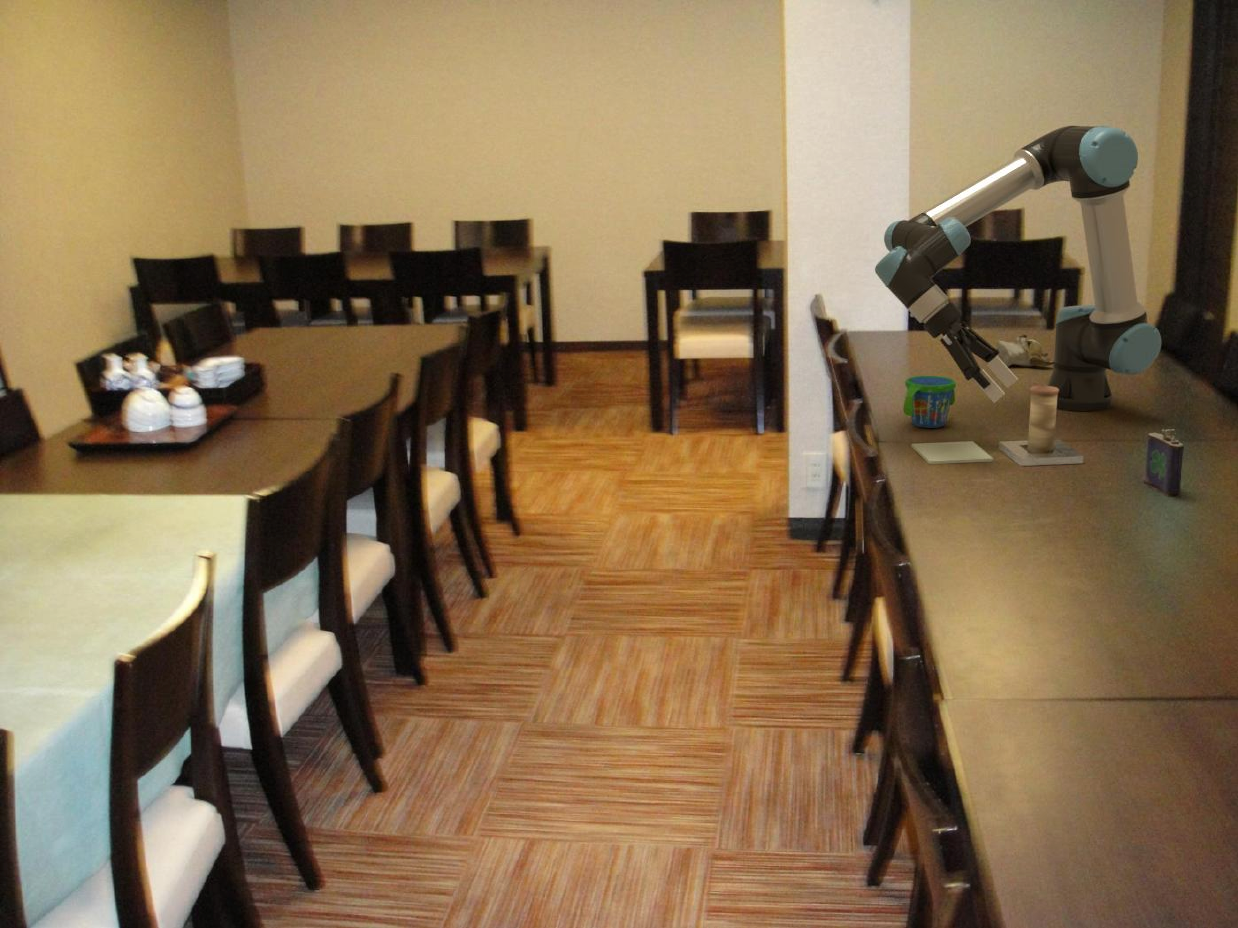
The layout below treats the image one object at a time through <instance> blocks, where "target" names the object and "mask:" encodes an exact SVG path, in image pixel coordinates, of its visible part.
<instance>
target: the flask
mask: <svg viewBox="0 0 1238 928" xmlns="http://www.w3.org/2000/svg"><path fill="white" fill-rule="evenodd" d="M1173 432H1175V429H1174V428H1172V429H1171V428H1170V429H1167V428H1166V429H1161V433H1158V432H1151V433H1148V434H1147V442H1146V443H1147V444H1146V453H1145V454H1146V455H1145V464H1144V472H1143V483H1144V484H1145V485H1146V486H1149V487H1151V488H1152V489H1154V490H1157V491H1158V492H1160V493H1162V494H1163V495H1166V497H1172V498H1177V497H1180V496H1181V483H1182V469H1183V460H1184V459H1183V457H1184V450H1185V449H1184V447H1185V446H1184V444H1183V443H1181V442H1180V440H1178V439H1176V437H1175V435H1174V434H1172V433H1173Z"/></svg>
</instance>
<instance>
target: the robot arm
mask: <svg viewBox="0 0 1238 928" xmlns="http://www.w3.org/2000/svg"><path fill="white" fill-rule="evenodd" d="M1138 163H1139V153H1138V149H1137V145H1136V143H1135V140H1134V139H1133V138H1132V137H1131V135H1129V134H1128V133H1126V132H1125V131H1124V130H1122V129H1119V128H1115V127H1111V126H1106V125H1105V126H1104V125H1099V126H1090V125H1088V126H1087V125H1067V126H1062V127H1059V128H1057V129H1054V130H1052V131H1050V132H1049V133H1046V134H1044V135H1042V136H1040V137H1039V138H1036V139H1035V140H1033V141H1031V142H1030V143H1028V144H1026V145H1025V146H1023V147H1021V148H1020V149H1018V150H1016V151H1015V152H1014V154H1013V158H1012V159H1010V160H1008V161H1007V162H1005V163H1003V164H1002V165H1000V166H999V167H997V168H995V169H993V170H992V171H990V172H988V173H987V174H985V175H983V176H981V177H979V178H978V179H977V180H975V181H973V182H972V183H970V184H968V185H966V186H965V187H963V188H961V189H960V190H958V191H957V192H955V193H953V194H951V195H949V196H948V197H946V198H944V199H943V200H942V201H940V202H938V203H936V204H934V205H933V206H930V207H929V208H927V209H925V210H924V211H922V212H921V213H919V214H918V215H915V216H913V217H911V218H910V219H908V220H905V219H903V220H897V221H894V222H893V221H892V223H891V224H889V225H888V226H887V228H886V230H885V232H884V237H883V241H884V245H885V248H886V250H887V251H888V253H886V255H885V256H884V257H882V259H880V260H879V261H878V263H877V264H876V266H875V268H874V272H875V274H876V275H877V276H878V278H879V279H880V281H881V282H882V283H883V285H884V286H885V287H886V288H887V289H888V290H889V291H890V292H891V293H892V294H893V295H894V297H896V299H898V301H899V302H900V303H901V304H902V305H903V306H904V307H905V308H906V310H908V312H910V314H909V316H910V317H911V318H915V319H916V320H917V322H919V324H922V323H924V324H923V329H924V330H925V331H926V332H927V333H928V334H929V335H930V336H931V337H932V338H933V339H937V338H938V337H939V336H940V335H942V336H943V337H942V338H941V339H939V341H940V343H941V344H942V345H943V346H944V347H945V349H946V350H947V352H948V353H949V354H950V356H951V358H952V359H953V360H954V362H955V364H956V365H957V367H958V368H959V370H960V371H961V373H962V375H963V376H964V378H965V380H966V381H970V380H971V379H972V380H973V381H974V382H975V384H976V385H977V386H978V387H979V388H980V389H981V391H982V392H983V393H984V394H985V395H986V396H987V397H988V398H989V399H990V400H991V401H992V403H994V404H995V403H996V402H997V401H998V400H1000V399H1001V398H1003V397H1004V396H1005V394H1006V393H1005V391H1004V390H1002V388H1001V387H1000V386H999V385H998V383H996V381H994V379H993V377H992V378H991V376H990V375H989V374H988V373H987V372H986V371H985V369H981V367H980V366H979V363H978V361H977V360H976V358H975V357H974V355H975V356H976V357H978V358H979V359H981V360H982V361H984V362H985V363H987V364H986V367H988V368H989V369H990V371H992V372H993V374H994V375H995V376H996V377H997V378H998V380H999V381H1000V382H1001V383H1002V384H1003V385H1004V386H1005V387H1006V389H1009V388H1010V387H1012V386H1013V384H1015V383H1016V382H1017V381H1018V380H1019V378H1018V377H1017V376H1016V375H1015V373H1013V372H1012V370H1011V369H1010V368H1009V367H1007V366H1006V365H1005V364H1004V363H1003V362H1002V361H1001V359H1000V358H999V355H998V354H999V353H1000V352H999V351H998V350H997V348H996V347H994V346H993V345H991V344H990V343H989V342H988V341H987V340H985V339H984V338H983V337H982V336H981V335H980V334H978V333H977V332H976V331H974V330H973V329H972V328H971V326H970V325H968V324H967V323H966V322H965V321H964V320H962V322H961V323H959V322H958V320H959V319H960V318H961V317H962V316H963V313H962V311H961V310H959V308H958V307H957V306H956V305H955V303H954V302H949V297H948V295H946V294H945V292H944V291H943V290H942V289H941V288H940V287H939V286H938V285H937V284H936V283H935V281H934V280H932V278H933V277H935V276H936V275H937V274H938V273H939V272H941V271H942V270H943V269H944V268H945V267H947V266H948V265H949V264H950V263H952V262H953V261H954V260H956V258H957V257H960V256H961V254H962V253H963V252H964V251H965V250H966V249H967V248H968V247H969V246H970V245H971V240H972V239H971V235H970V232H969V230H968V229H967V228H966V227H968V226H969V225H971V224H973V223H975V222H977V221H978V220H980V219H982V218H983V217H985V216H987V215H988V214H991V213H992V212H993V211H995V210H997V209H999V208H1000V207H1002V206H1004V205H1006V204H1008V203H1009V202H1011V201H1012V200H1014V199H1016V198H1017V197H1019V196H1021V195H1023V194H1024V193H1026V192H1028V191H1029V190H1033V191H1038V190H1041V189H1042V188H1043V187H1045V186H1047V185H1049V184H1054V183H1057V182H1058V183H1059V182H1069V187H1070V192H1071V194H1070V195H1071V198H1072V199H1073V200H1075V201H1076V202H1078V203H1079V204H1080V209H1081V215H1082V223H1083V231H1084V236H1085V237H1084V238H1085V244H1086V245H1085V246H1086V251H1087V258H1088V265H1089V271H1090V272H1089V273H1090V278H1091V279H1090V280H1091V286H1092V293H1093V294H1092V295H1093V302H1094V304H1086V305H1084V304H1083V305H1072V306H1071V305H1069V306H1064V307H1061V308H1060V309H1059V310H1058V312H1057V317H1056V322H1055V339H1054V340H1055V341H1054V356H1053V358H1054V359H1053V361H1054V364H1053V369H1052V372H1051V375H1050V377H1049V380H1048V382H1047V384H1046V386H1052V387H1056V388H1058V389H1059V393H1058V395H1057V408H1056V409H1057V410H1058V409H1059V410H1065V411H1066V410H1067V411H1074V412H1075V411H1077V412H1078V411H1079V412H1093V411H1095V412H1096V411H1101V410H1106V409H1109V408H1111V407H1112V406H1113V393H1112V390H1111V386H1110V382H1109V377H1108V373H1107V371H1108V370H1110V371H1113V372H1114V373H1117V374H1123V375H1130V376H1132V375H1138V374H1141V373H1144V371H1146V370H1147V369H1148V368H1149V367H1151V366H1152V365H1153V364H1154V361H1155V360H1156V359H1157V358H1158V356H1159V354H1160V352H1161V347H1162V337H1161V334H1160V331H1159V329H1158V328H1157V327H1155V326H1154V325H1153V324H1151V323H1148V315H1147V308H1146V306H1145V305H1144V304H1142V303H1140V302H1138V297H1137V290H1136V281H1135V275H1134V273H1135V272H1134V265H1133V258H1132V252H1131V251H1132V250H1131V244H1130V234H1129V228H1128V222H1127V213H1126V206H1125V197H1124V195H1125V193H1127V191H1128V190H1129V189H1130V187H1131V184H1130V179H1131V178H1132V177H1133V175H1134V174H1135V170H1136V169H1137V168H1138Z"/></svg>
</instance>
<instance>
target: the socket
mask: <svg viewBox="0 0 1238 928" xmlns="http://www.w3.org/2000/svg"><path fill="white" fill-rule="evenodd" d="M998 443H999V444H998V450H1000V451H1001V452H1002V453H1003V454H1004V455H1006V456H1008V458H1010V459H1011V460H1012V461H1014V462H1015V463H1016V464H1017V465H1019V466H1020V467H1031V466H1049V465H1050V466H1052V465H1053V466H1054V465H1071V464H1072V465H1074V464H1084V455H1083V454H1081V453H1080V452H1079V451H1077V450H1075V449H1074V448H1072V447H1071V446H1069V445H1068V444H1067V443H1065V442H1064V441H1062V440H1061V439H1060V438H1058V439H1057V438H1056V439H1055V438H1054V449H1053V453H1041V454H1030V453H1029V452H1027V449H1028V439H1026V440H1009V441H1007V440H1006V441H1003V440H1002V441H999V442H998Z"/></svg>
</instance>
